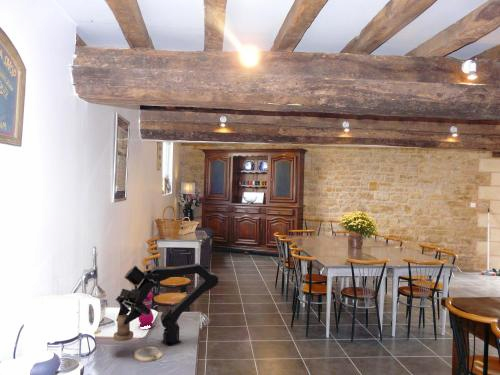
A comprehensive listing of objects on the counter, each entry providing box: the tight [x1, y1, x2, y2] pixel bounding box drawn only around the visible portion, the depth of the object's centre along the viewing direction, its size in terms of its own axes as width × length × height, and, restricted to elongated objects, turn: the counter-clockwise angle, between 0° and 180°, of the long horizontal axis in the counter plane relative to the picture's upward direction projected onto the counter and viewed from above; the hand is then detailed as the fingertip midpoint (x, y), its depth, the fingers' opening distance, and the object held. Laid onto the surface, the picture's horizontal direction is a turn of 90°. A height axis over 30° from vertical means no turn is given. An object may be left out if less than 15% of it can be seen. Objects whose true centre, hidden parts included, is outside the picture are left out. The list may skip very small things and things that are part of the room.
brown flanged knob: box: [113, 314, 134, 342], centre depth 174 cm, size 8×8×9 cm
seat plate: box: [133, 346, 164, 362], centre depth 173 cm, size 12×12×3 cm
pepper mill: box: [138, 291, 154, 329], centre depth 205 cm, size 7×7×20 cm
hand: (120, 322), depth 173 cm, fingers closed on brown flanged knob, 5 cm apart
